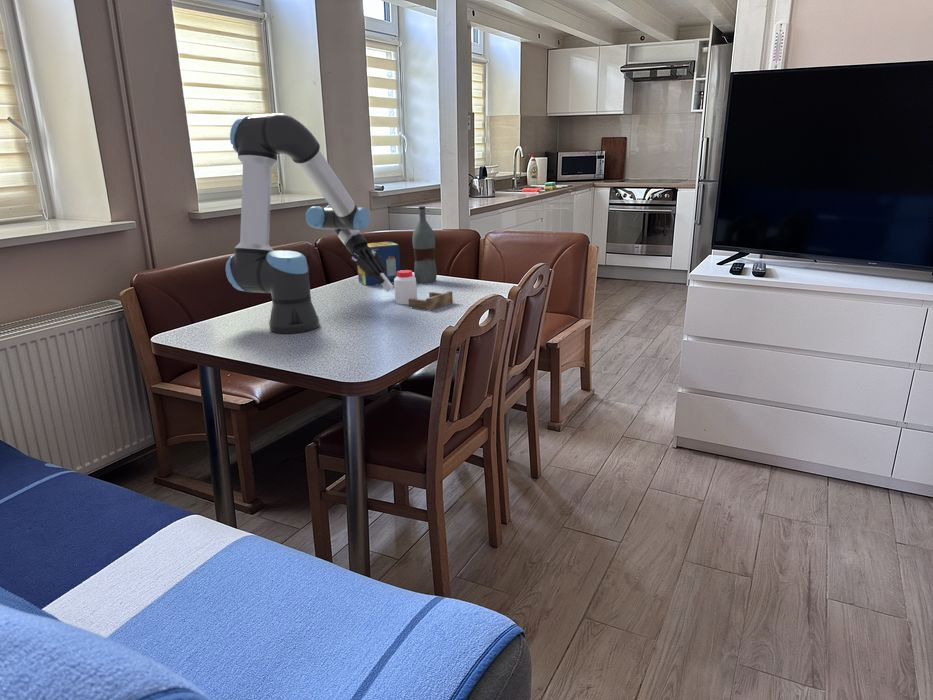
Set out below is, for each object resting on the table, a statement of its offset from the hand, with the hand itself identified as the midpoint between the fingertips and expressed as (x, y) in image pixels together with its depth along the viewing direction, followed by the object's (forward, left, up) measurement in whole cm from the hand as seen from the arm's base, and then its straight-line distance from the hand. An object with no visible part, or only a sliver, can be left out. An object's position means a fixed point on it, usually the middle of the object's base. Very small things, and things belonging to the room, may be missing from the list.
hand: (390, 288), depth 237 cm
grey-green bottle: (+32, +3, -4) cm, 33 cm away
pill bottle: (-2, -8, -4) cm, 9 cm away
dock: (-4, -18, -4) cm, 18 cm away
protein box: (+27, +22, -4) cm, 36 cm away
